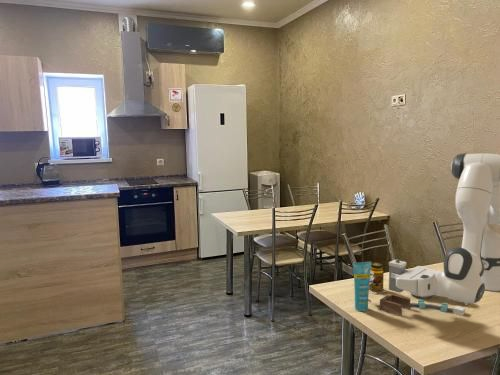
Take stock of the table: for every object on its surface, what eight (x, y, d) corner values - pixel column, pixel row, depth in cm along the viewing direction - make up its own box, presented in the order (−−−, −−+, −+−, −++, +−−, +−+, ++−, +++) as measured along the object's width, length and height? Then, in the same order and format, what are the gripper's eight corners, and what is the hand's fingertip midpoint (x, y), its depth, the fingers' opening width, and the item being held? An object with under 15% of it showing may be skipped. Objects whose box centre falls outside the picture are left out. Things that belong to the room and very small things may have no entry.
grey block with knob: (393, 286, 150) (394, 257, 149) (405, 289, 147) (406, 259, 145) (388, 289, 147) (388, 259, 146) (400, 293, 143) (401, 262, 142)
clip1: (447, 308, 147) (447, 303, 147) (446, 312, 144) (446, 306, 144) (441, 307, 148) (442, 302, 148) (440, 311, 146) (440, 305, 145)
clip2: (423, 304, 151) (423, 299, 151) (425, 308, 148) (425, 303, 148) (417, 304, 152) (417, 299, 152) (419, 308, 148) (419, 303, 148)
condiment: (375, 294, 163) (375, 267, 162) (362, 287, 171) (362, 262, 169) (388, 291, 166) (388, 265, 164) (374, 285, 174) (375, 259, 172)
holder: (390, 302, 154) (390, 293, 154) (410, 308, 148) (410, 298, 148) (379, 309, 148) (380, 299, 148) (400, 315, 142) (400, 305, 142)
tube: (355, 312, 146) (356, 264, 144) (349, 307, 151) (350, 260, 148) (373, 310, 148) (373, 262, 145) (366, 305, 152) (367, 259, 150)
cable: (402, 302, 154) (402, 297, 154) (464, 311, 144) (465, 306, 144) (401, 306, 151) (401, 301, 150) (465, 316, 141) (465, 311, 141)
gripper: (442, 266, 144) (406, 259, 154) (420, 280, 130) (382, 271, 139) (442, 282, 144) (406, 274, 154) (420, 298, 130) (382, 287, 140)
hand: (395, 272), depth 147 cm, fingers closed on grey block with knob, 4 cm apart
